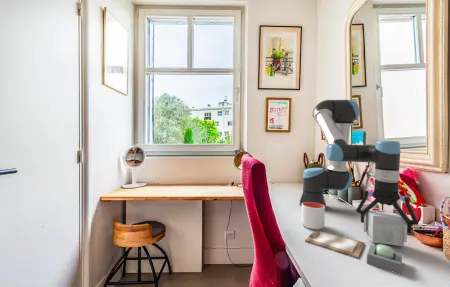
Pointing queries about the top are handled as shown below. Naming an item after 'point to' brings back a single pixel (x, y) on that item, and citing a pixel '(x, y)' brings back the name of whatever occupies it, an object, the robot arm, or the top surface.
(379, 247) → the button
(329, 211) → the top surface
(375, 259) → the button box
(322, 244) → the clipboard
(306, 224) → the cup
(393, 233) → the skincare box
